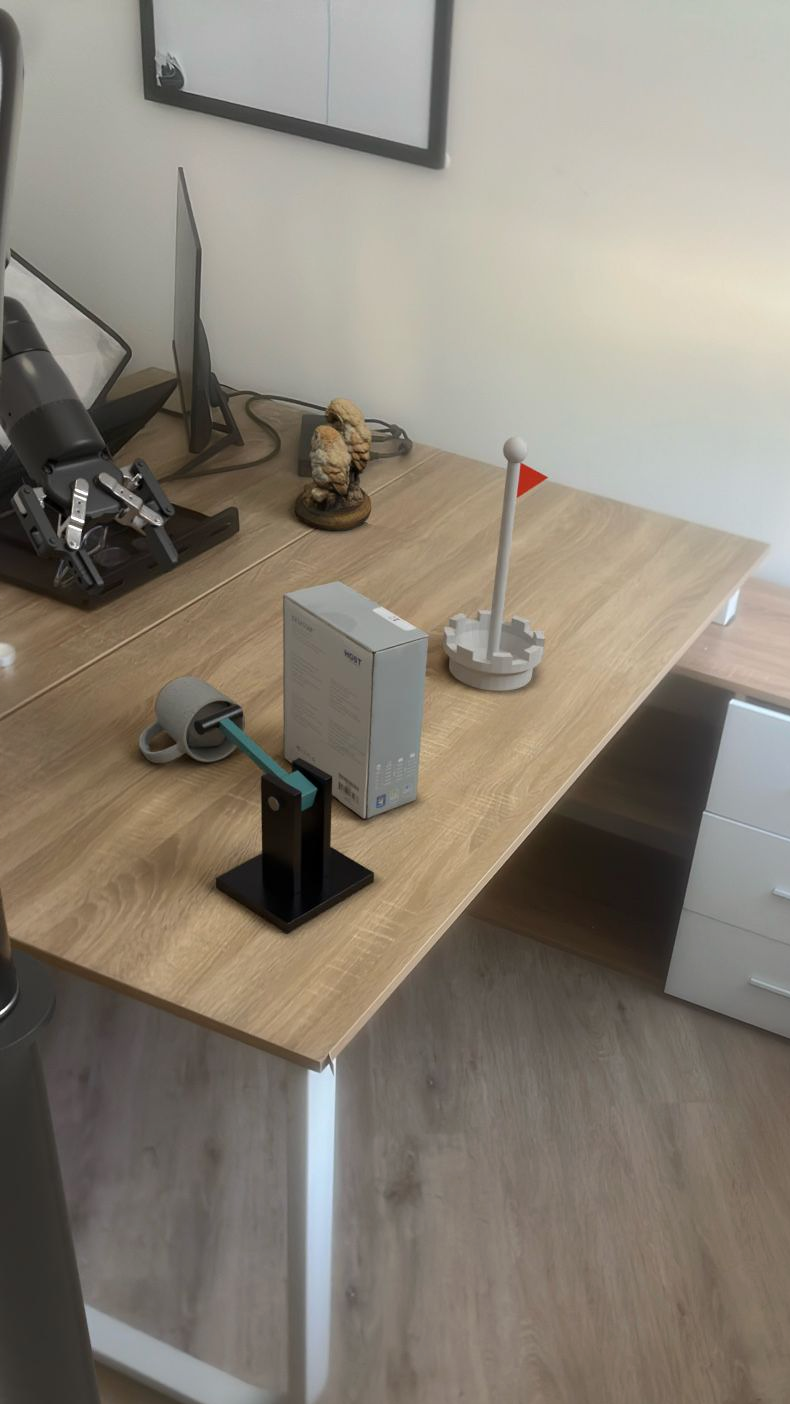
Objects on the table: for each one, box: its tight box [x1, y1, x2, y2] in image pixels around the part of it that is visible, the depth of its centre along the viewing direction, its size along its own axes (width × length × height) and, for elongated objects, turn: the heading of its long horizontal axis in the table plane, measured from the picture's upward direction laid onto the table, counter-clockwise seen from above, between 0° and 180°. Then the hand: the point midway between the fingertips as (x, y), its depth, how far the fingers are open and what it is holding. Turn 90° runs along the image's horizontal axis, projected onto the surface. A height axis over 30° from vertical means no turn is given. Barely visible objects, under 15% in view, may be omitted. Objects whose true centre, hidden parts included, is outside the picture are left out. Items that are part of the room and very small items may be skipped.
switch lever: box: [194, 703, 317, 811], centre depth 121 cm, size 13×5×2 cm, turn 53°
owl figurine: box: [294, 397, 373, 532], centre depth 196 cm, size 18×12×17 cm, turn 0°
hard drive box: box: [282, 580, 430, 819], centre depth 137 cm, size 16×8×20 cm, turn 44°
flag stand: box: [442, 436, 549, 692], centre depth 158 cm, size 13×13×30 cm
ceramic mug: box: [138, 675, 246, 764], centre depth 141 cm, size 11×8×8 cm
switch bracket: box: [215, 758, 375, 934], centre depth 123 cm, size 10×12×13 cm
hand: (135, 580), depth 119 cm, fingers open, 8 cm apart
